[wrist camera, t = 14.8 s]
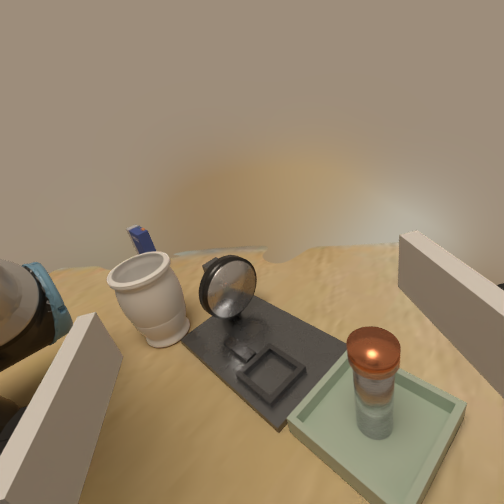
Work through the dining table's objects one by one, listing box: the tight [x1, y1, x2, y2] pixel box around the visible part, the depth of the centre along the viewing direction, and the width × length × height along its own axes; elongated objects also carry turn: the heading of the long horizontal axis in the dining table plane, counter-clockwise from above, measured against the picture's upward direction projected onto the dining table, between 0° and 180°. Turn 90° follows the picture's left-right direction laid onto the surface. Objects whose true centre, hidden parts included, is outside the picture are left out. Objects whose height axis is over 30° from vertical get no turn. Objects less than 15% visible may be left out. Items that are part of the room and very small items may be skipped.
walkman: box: [126, 225, 156, 255], centre depth 79 cm, size 8×3×12 cm, turn 42°
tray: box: [287, 350, 467, 504], centre depth 36 cm, size 14×14×3 cm
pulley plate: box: [180, 255, 347, 433], centre depth 47 cm, size 24×16×14 cm, turn 43°
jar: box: [107, 251, 190, 348], centre depth 55 cm, size 11×10×15 cm
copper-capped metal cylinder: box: [347, 327, 400, 440], centre depth 33 cm, size 5×5×13 cm
